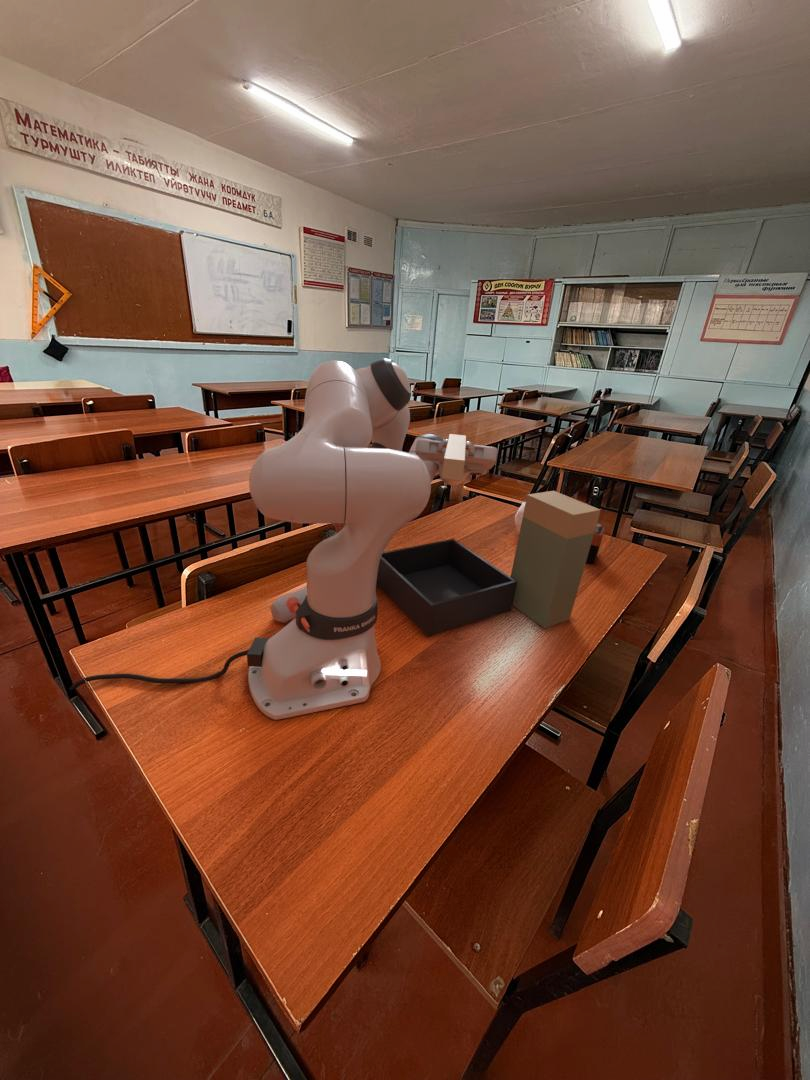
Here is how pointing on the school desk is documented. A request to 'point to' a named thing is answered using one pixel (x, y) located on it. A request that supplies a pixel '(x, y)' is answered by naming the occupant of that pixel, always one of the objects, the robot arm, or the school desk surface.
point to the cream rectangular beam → (454, 457)
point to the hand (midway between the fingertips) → (456, 443)
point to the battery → (595, 544)
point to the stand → (551, 555)
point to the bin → (444, 585)
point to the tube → (280, 608)
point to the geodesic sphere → (519, 517)
